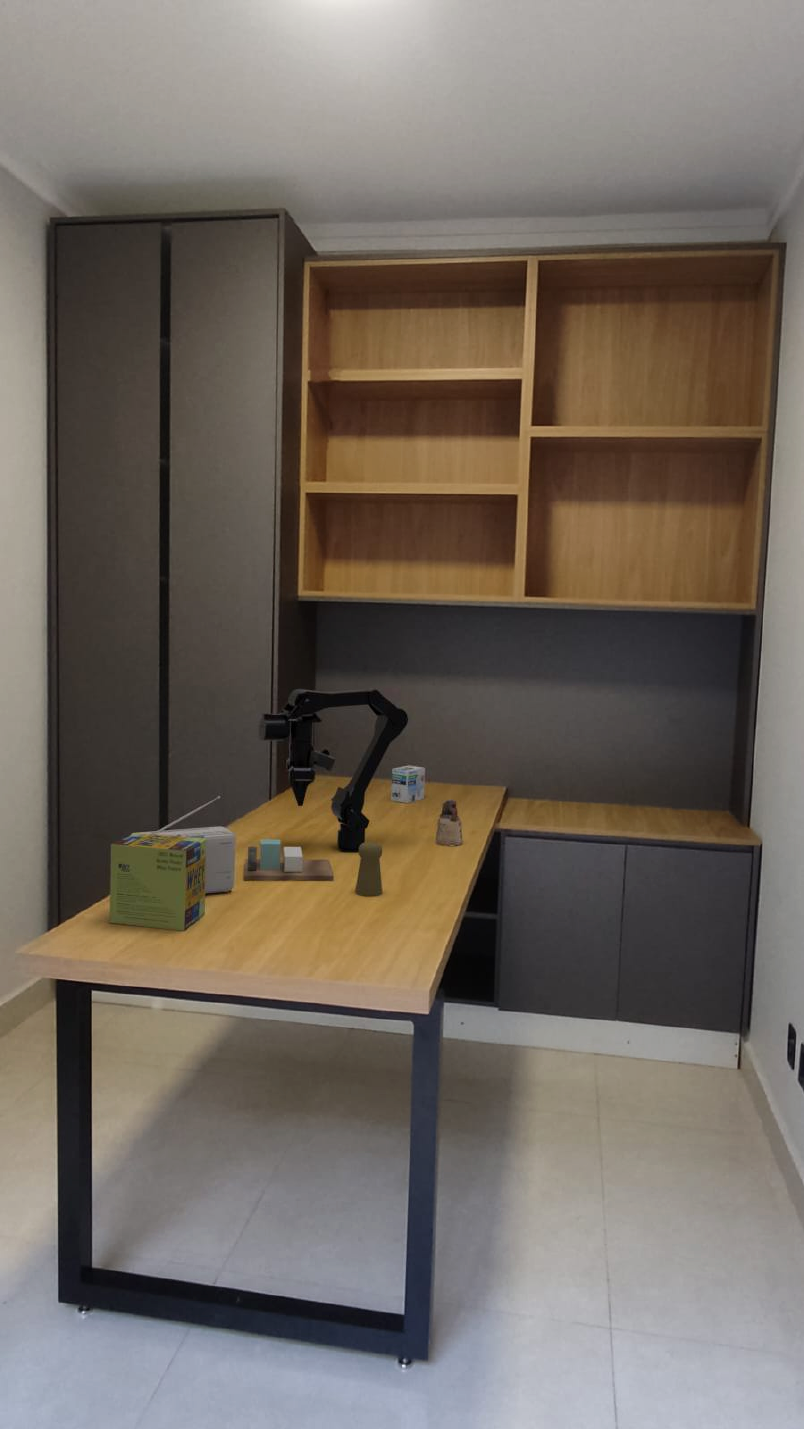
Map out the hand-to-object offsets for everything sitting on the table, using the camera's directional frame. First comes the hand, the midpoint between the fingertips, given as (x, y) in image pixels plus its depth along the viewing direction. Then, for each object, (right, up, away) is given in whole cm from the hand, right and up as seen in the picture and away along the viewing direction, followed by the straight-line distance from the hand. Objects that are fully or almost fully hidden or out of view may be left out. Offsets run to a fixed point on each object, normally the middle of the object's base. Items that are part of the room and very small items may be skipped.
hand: (299, 802), depth 236 cm
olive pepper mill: (+18, -17, -30) cm, 39 cm away
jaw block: (-5, -13, -17) cm, 23 cm away
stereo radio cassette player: (-21, -16, -36) cm, 45 cm away
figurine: (+38, -13, +19) cm, 44 cm away
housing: (0, -13, -17) cm, 21 cm away
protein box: (-22, -18, -53) cm, 60 cm away
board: (-1, -15, -17) cm, 22 cm away
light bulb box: (+27, -7, +76) cm, 81 cm away
